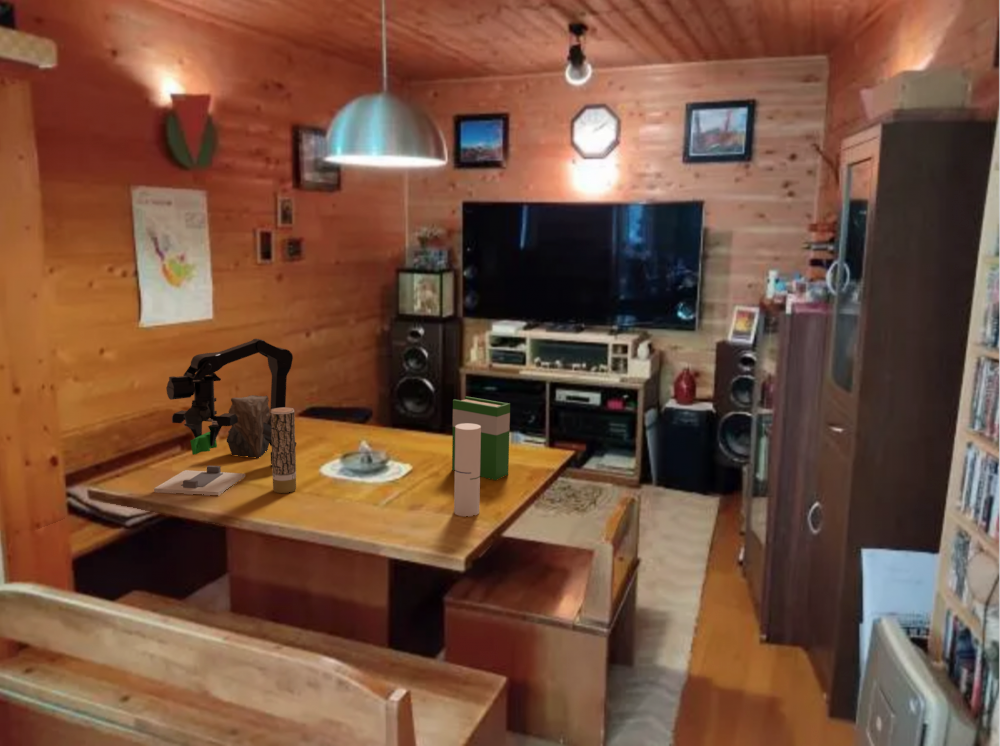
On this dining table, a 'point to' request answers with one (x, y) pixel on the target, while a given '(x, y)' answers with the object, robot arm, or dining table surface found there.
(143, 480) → the dining table surface
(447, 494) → the dining table surface
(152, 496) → the dining table surface
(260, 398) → the grey brown rock block
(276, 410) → the bark textured cylinder
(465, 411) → the hardback book
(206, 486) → the door panel
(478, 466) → the cylindrical container
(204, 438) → the green angled block
